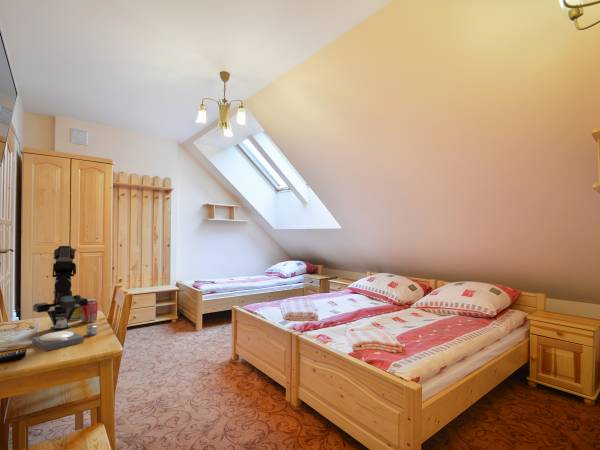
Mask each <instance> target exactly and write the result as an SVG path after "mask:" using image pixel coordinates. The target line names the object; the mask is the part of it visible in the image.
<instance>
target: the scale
mask: <svg viewBox="0 0 600 450" xmlns="http://www.w3.org/2000/svg"><path fill="white" fill-rule="evenodd" d="M84 339H85V337H84V335H82V334H79V333H77V332H75V331H72V330H63V331H61V330H59V331H54V332H49V333H45V334H43V335H39V336H35V337H32V339H31V344H32V345H33V346H35V347H37V348H38V349H40V350H42V351H43V352H49V351H50V352H51V351H53V350H57V349H62V348H66V347H69V346H74V345H78V344H82V343H84V341H85V340H84Z"/></svg>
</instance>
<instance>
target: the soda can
mask: <svg viewBox="0 0 600 450" xmlns="http://www.w3.org/2000/svg"><path fill="white" fill-rule="evenodd" d="M86 299H87V300H88V305H84V306H82V319H81V322H83V323H84V324H89V323H90V322H91V323H94V322H95V321H97V320H98V319H97V318H98V304H99V303H98V300H97V298H86Z"/></svg>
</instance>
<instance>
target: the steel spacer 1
mask: <svg viewBox="0 0 600 450" xmlns="http://www.w3.org/2000/svg"><path fill="white" fill-rule="evenodd" d="M53 327H54V326H53ZM64 327H67V317H66V316H62V317H57V318H56V325H55V327H54V328H64Z"/></svg>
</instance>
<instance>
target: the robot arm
mask: <svg viewBox="0 0 600 450" xmlns="http://www.w3.org/2000/svg"><path fill="white" fill-rule="evenodd" d="M53 251H54V252H53V260H55V262H54V263H52V264H53V266H52V278H54V285H53V286H54V290H53V295H54V297H53V300H52V303H47V302H40V303H35V304H34V305H32V307H33V308H32V311H34V312H36V313H47V315H48V316H49V318H50V320H51V321H50V322H51V323H52V325H53V326H51V327H50V329H51V330H53V331H54V332H57V331H61V330H65V329H66V330H67V329H69V328H71V326H70V325H68V324H69V322H70V321H71V320H70V318H71V316H72V315H73V312H74V311H75V310H76V309H77V308H79V307H78V304H79V305H80V306H84V305H88V300H87V299H88V298H85V297H81V295H80V294H76V295H73V291H72V289H71V288H72V277H75V275H76V274H77V264H76V262H74V260H75V257H76V254H75V253H76V249H74V248H73V247H72V246H70V245H59V246H58V248H56V249H54V250H53ZM62 316H66V317H67V327H64V328H54V327H55V325H56V318H57V317H62Z"/></svg>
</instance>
